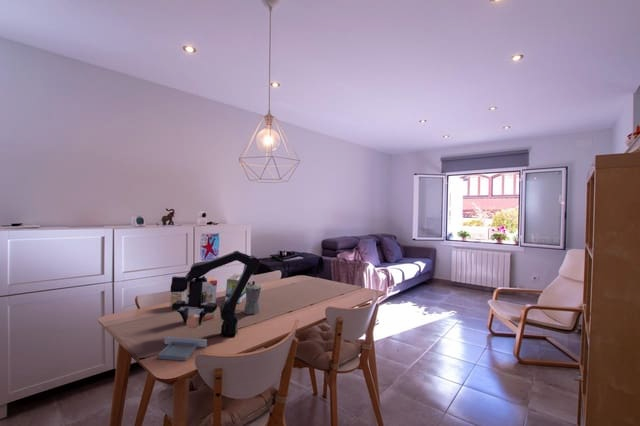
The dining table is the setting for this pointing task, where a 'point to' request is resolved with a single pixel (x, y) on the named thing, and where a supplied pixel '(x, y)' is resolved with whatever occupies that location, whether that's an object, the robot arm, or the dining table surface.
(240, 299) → the tea box
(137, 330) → the dining table surface
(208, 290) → the cracker box
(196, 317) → the ball
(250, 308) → the coffeepot
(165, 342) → the wall
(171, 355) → the grey square tray
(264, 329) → the dining table surface
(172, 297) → the supplement box
